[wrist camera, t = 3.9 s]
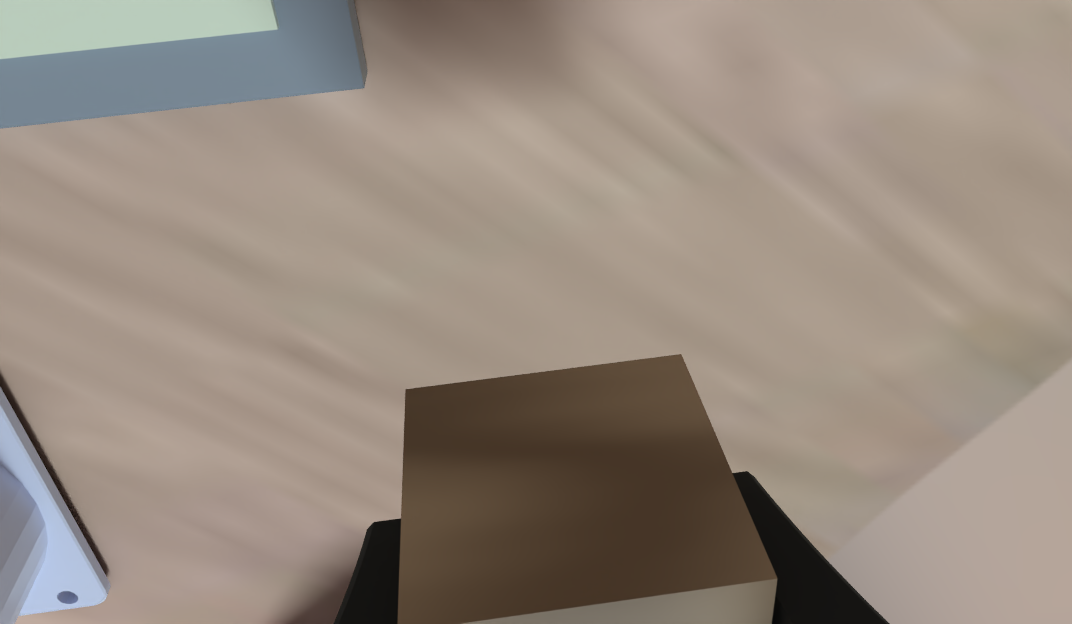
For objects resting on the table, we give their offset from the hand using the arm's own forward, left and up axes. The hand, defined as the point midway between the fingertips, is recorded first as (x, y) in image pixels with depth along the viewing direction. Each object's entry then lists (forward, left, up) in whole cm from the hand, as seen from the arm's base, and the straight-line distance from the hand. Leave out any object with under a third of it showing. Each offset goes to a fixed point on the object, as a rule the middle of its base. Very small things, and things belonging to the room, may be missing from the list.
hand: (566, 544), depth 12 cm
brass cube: (0, 0, -2) cm, 2 cm away
